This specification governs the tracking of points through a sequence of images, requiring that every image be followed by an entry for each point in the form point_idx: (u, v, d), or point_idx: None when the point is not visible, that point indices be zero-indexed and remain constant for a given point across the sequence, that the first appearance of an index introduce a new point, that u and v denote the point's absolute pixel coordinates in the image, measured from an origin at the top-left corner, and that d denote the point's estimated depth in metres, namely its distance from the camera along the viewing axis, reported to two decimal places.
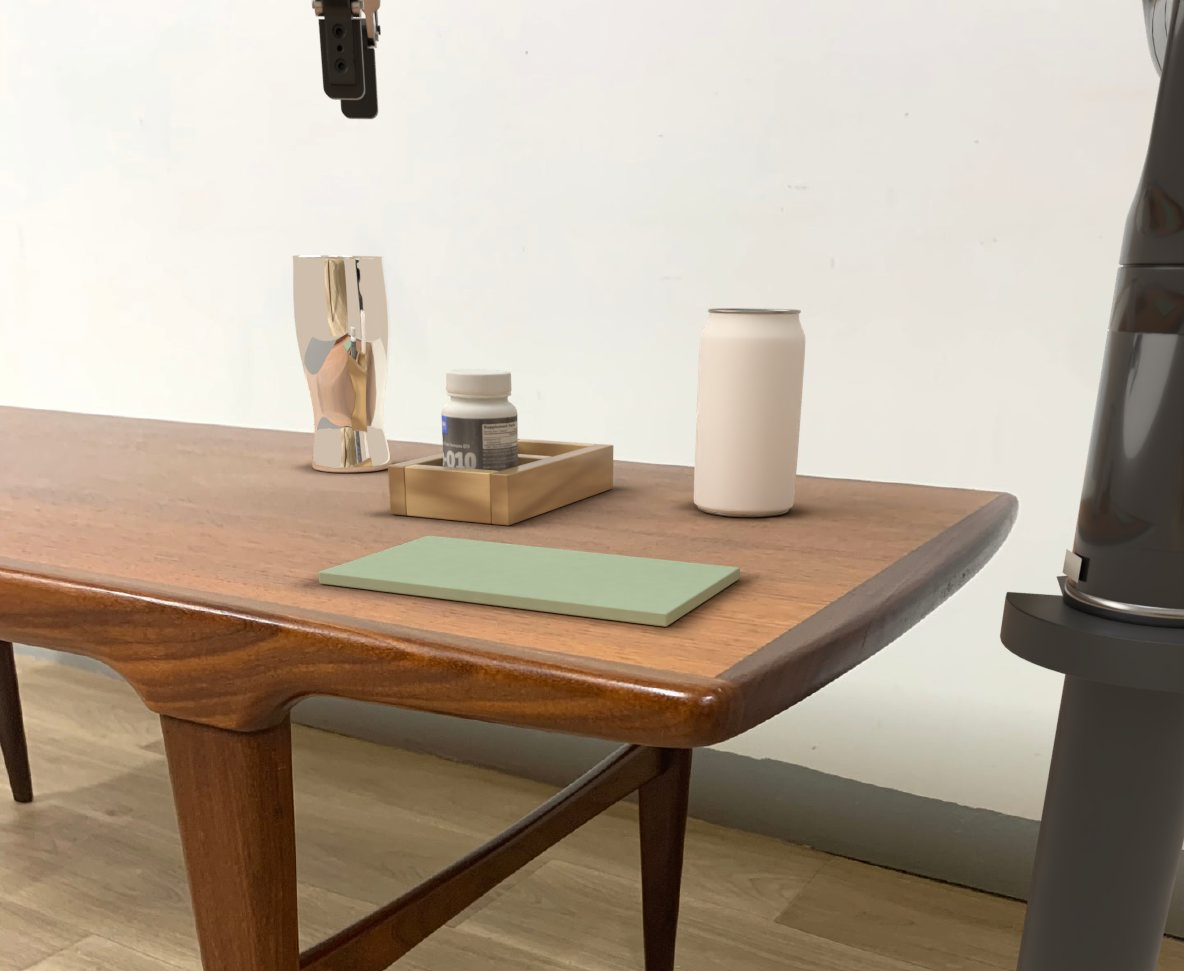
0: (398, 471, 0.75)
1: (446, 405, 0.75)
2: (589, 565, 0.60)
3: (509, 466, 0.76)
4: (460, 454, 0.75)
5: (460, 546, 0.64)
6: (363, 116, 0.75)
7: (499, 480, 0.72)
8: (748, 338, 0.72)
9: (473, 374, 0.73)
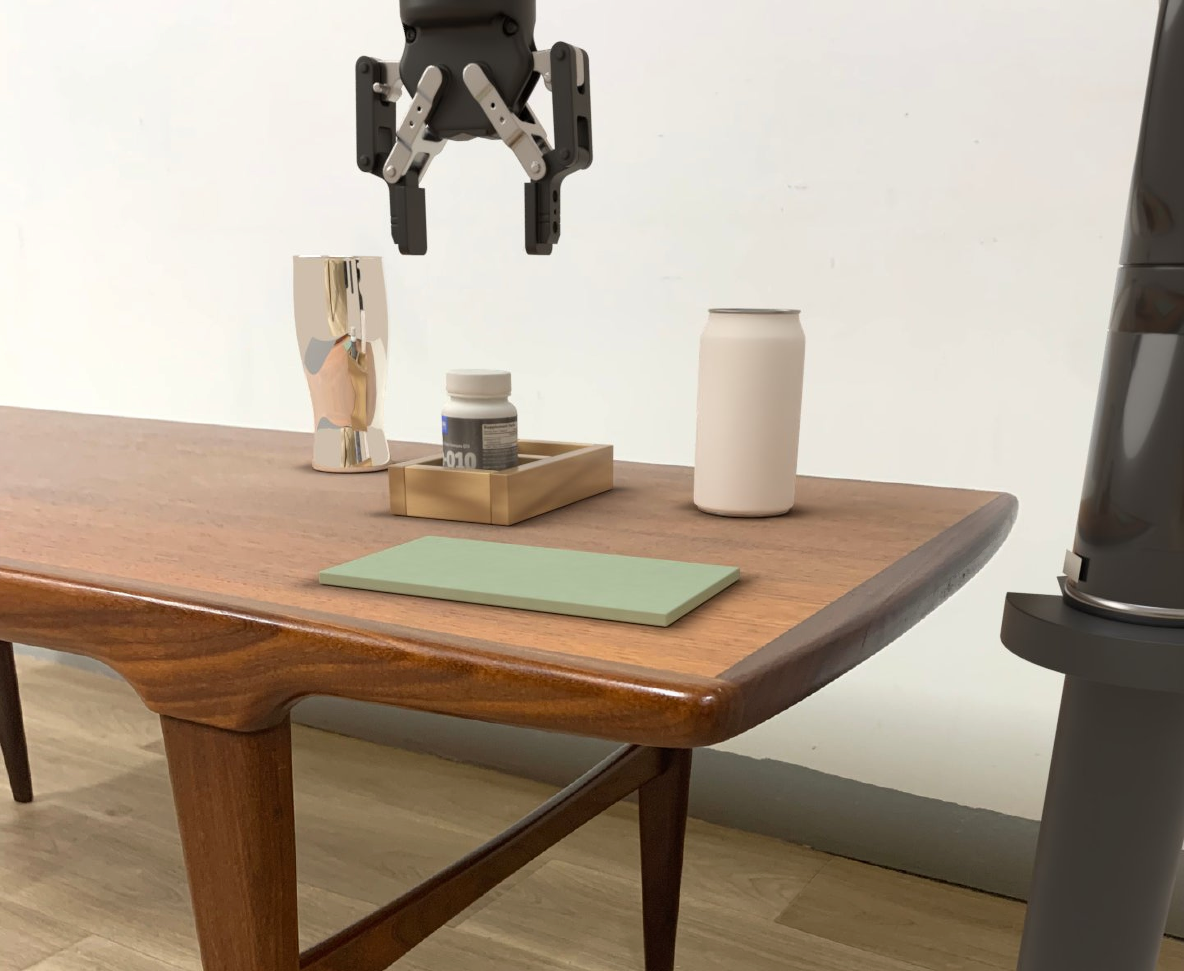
0: (398, 471, 0.75)
1: (446, 405, 0.75)
2: (589, 565, 0.60)
3: (509, 466, 0.76)
4: (460, 454, 0.75)
5: (460, 546, 0.64)
6: (419, 254, 0.74)
7: (499, 480, 0.72)
8: (748, 338, 0.72)
9: (473, 374, 0.73)
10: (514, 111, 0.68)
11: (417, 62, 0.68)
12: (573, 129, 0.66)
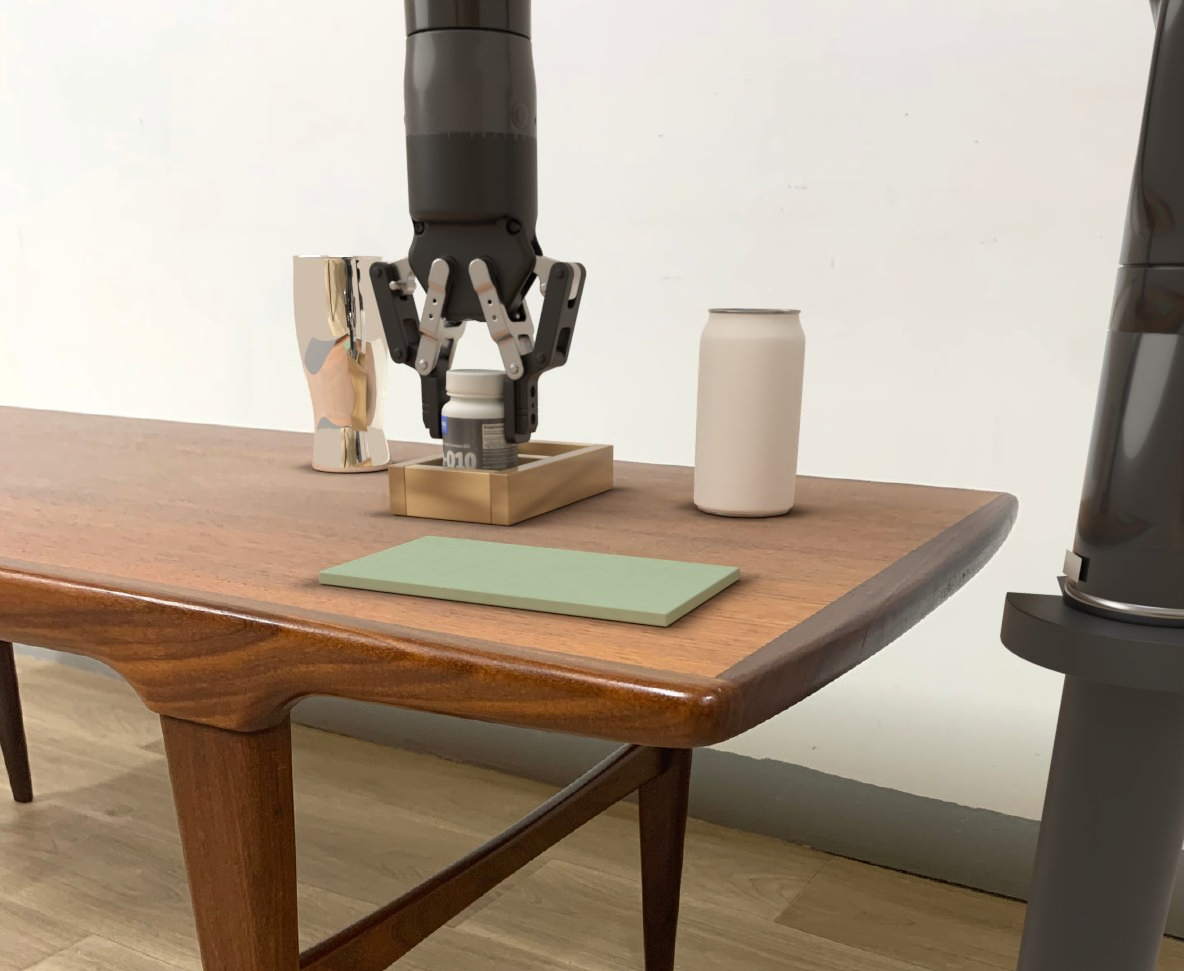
0: (398, 471, 0.75)
1: (446, 405, 0.75)
2: (589, 565, 0.60)
3: (509, 466, 0.76)
4: (460, 454, 0.75)
5: (460, 546, 0.64)
6: None
7: (499, 480, 0.72)
8: (748, 338, 0.72)
9: (473, 374, 0.73)
10: None
11: (424, 251, 0.72)
12: (554, 341, 0.71)
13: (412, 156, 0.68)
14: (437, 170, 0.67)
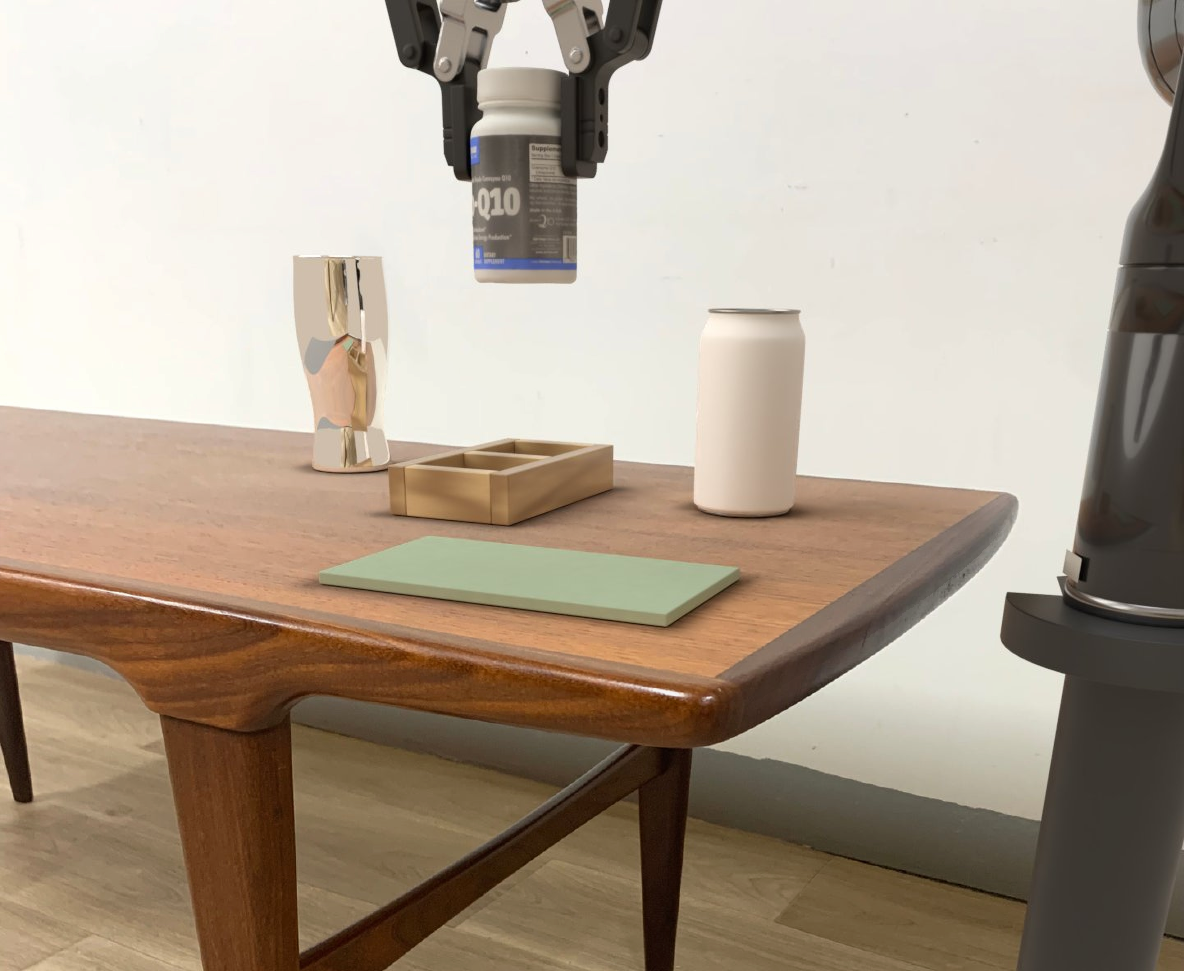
0: (398, 471, 0.75)
1: (477, 122, 0.53)
2: (589, 565, 0.60)
3: (566, 212, 0.53)
4: (497, 191, 0.52)
5: (460, 546, 0.64)
6: None
7: (499, 480, 0.72)
8: (748, 338, 0.72)
9: (517, 68, 0.51)
10: None
11: None
12: (636, 6, 0.49)
13: None
14: None
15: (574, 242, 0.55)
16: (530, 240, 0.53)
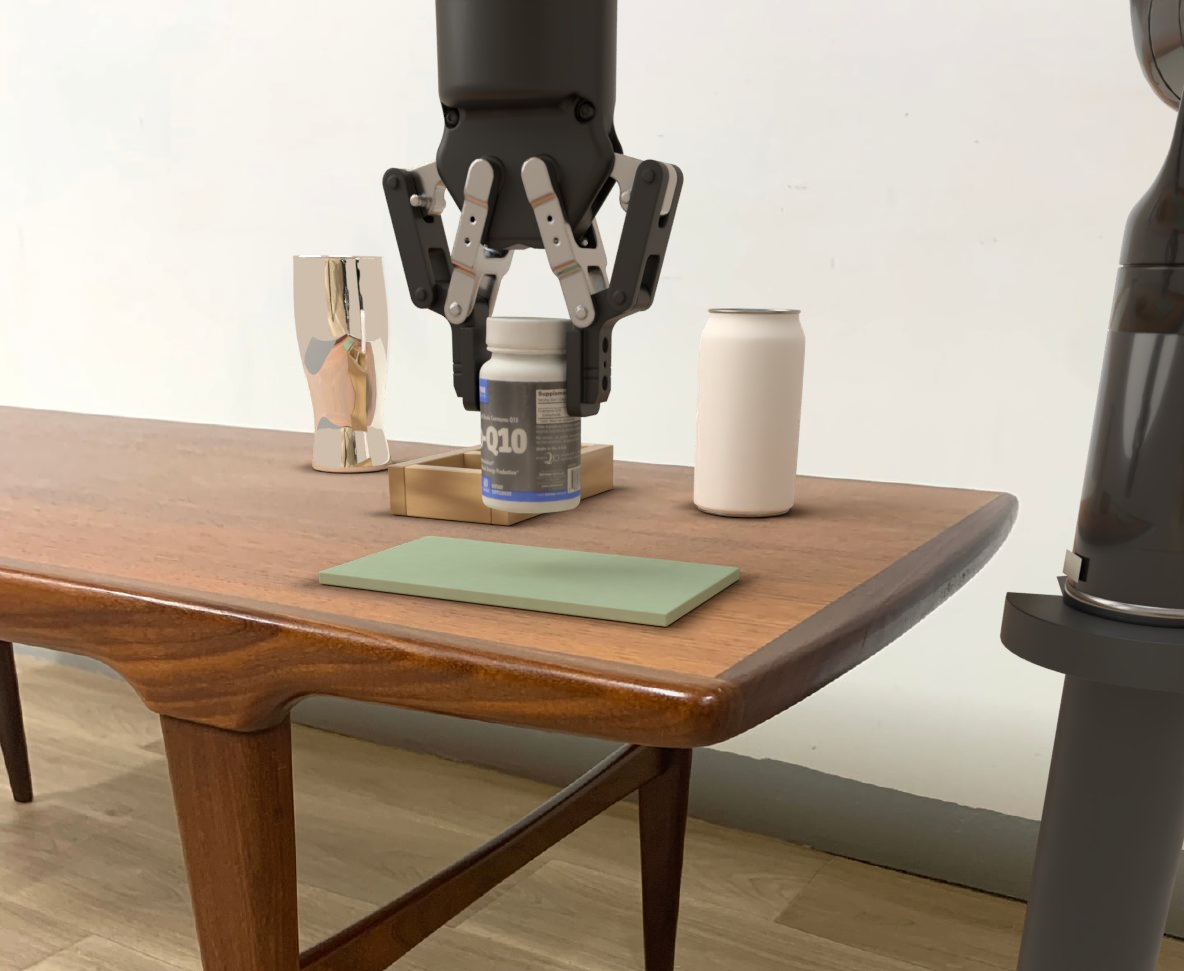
0: (398, 471, 0.75)
1: (486, 364, 0.55)
2: (589, 565, 0.60)
3: (571, 448, 0.56)
4: (505, 431, 0.55)
5: (460, 546, 0.64)
6: None
7: None
8: (748, 338, 0.72)
9: (524, 321, 0.53)
10: None
11: (458, 150, 0.53)
12: (639, 273, 0.51)
13: (444, 9, 0.49)
14: (481, 27, 0.48)
15: (578, 471, 0.57)
16: (536, 475, 0.55)
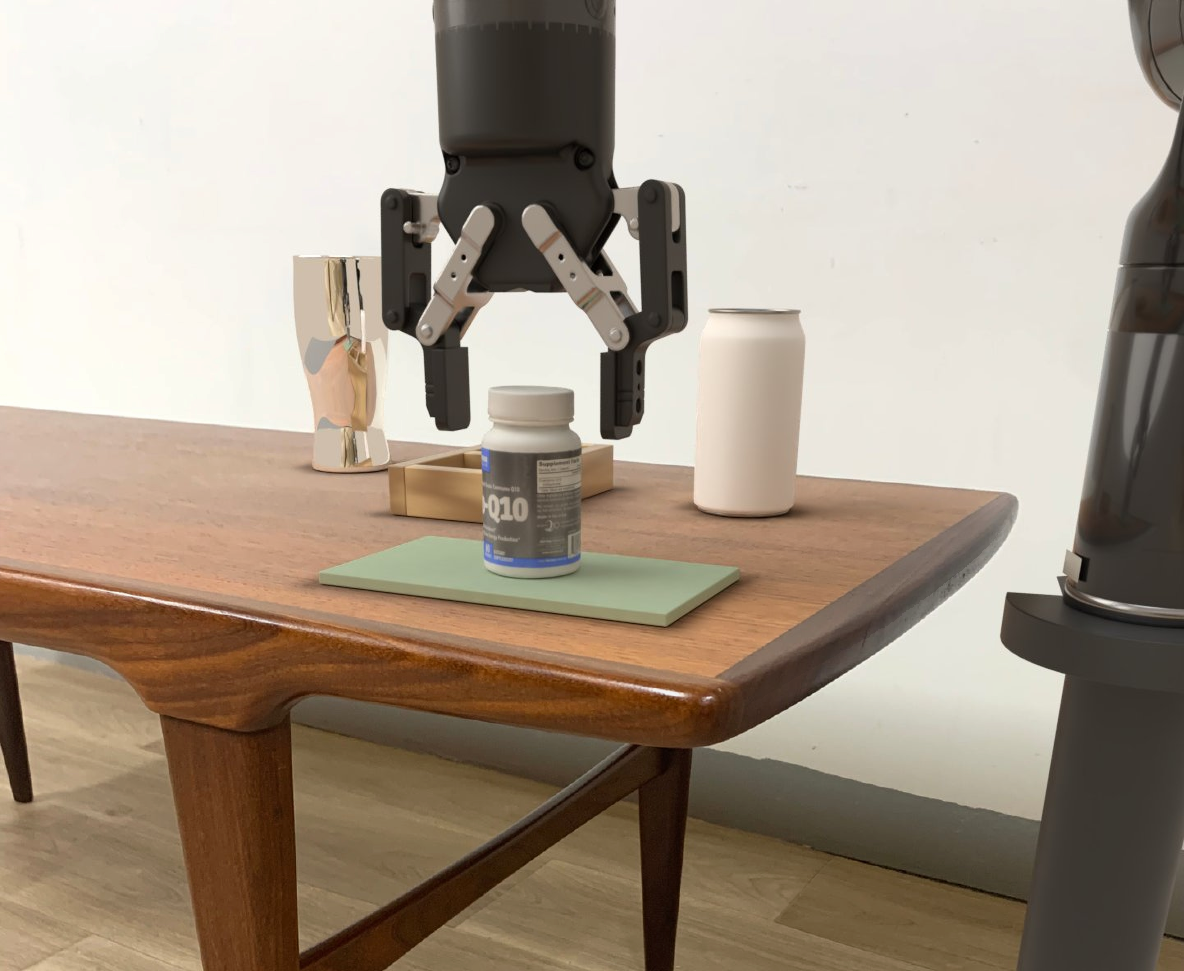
0: (398, 471, 0.75)
1: (488, 434, 0.56)
2: (589, 565, 0.60)
3: (571, 515, 0.57)
4: (506, 499, 0.56)
5: (460, 546, 0.64)
6: (461, 427, 0.58)
7: None
8: (748, 338, 0.72)
9: (525, 394, 0.54)
10: (587, 261, 0.53)
11: (461, 198, 0.53)
12: (667, 290, 0.51)
13: (445, 60, 0.49)
14: (481, 78, 0.48)
15: (578, 536, 0.58)
16: (537, 542, 0.57)
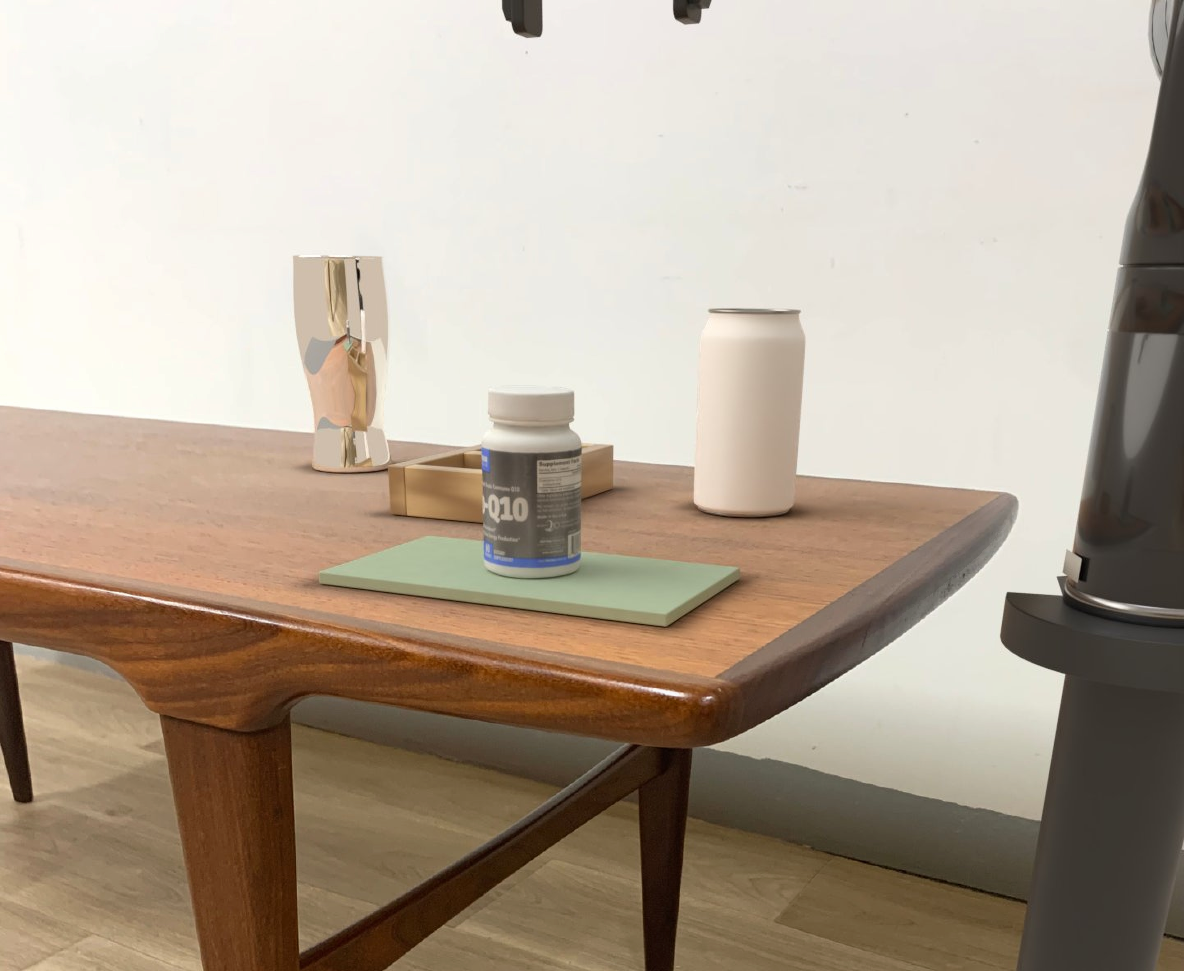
0: (398, 471, 0.75)
1: (488, 434, 0.56)
2: (589, 565, 0.60)
3: (571, 515, 0.57)
4: (506, 499, 0.56)
5: (460, 546, 0.64)
6: (535, 34, 0.62)
7: None
8: (748, 338, 0.72)
9: (526, 394, 0.54)
10: None
11: None
12: None
13: None
14: None
15: (578, 536, 0.58)
16: (537, 542, 0.57)
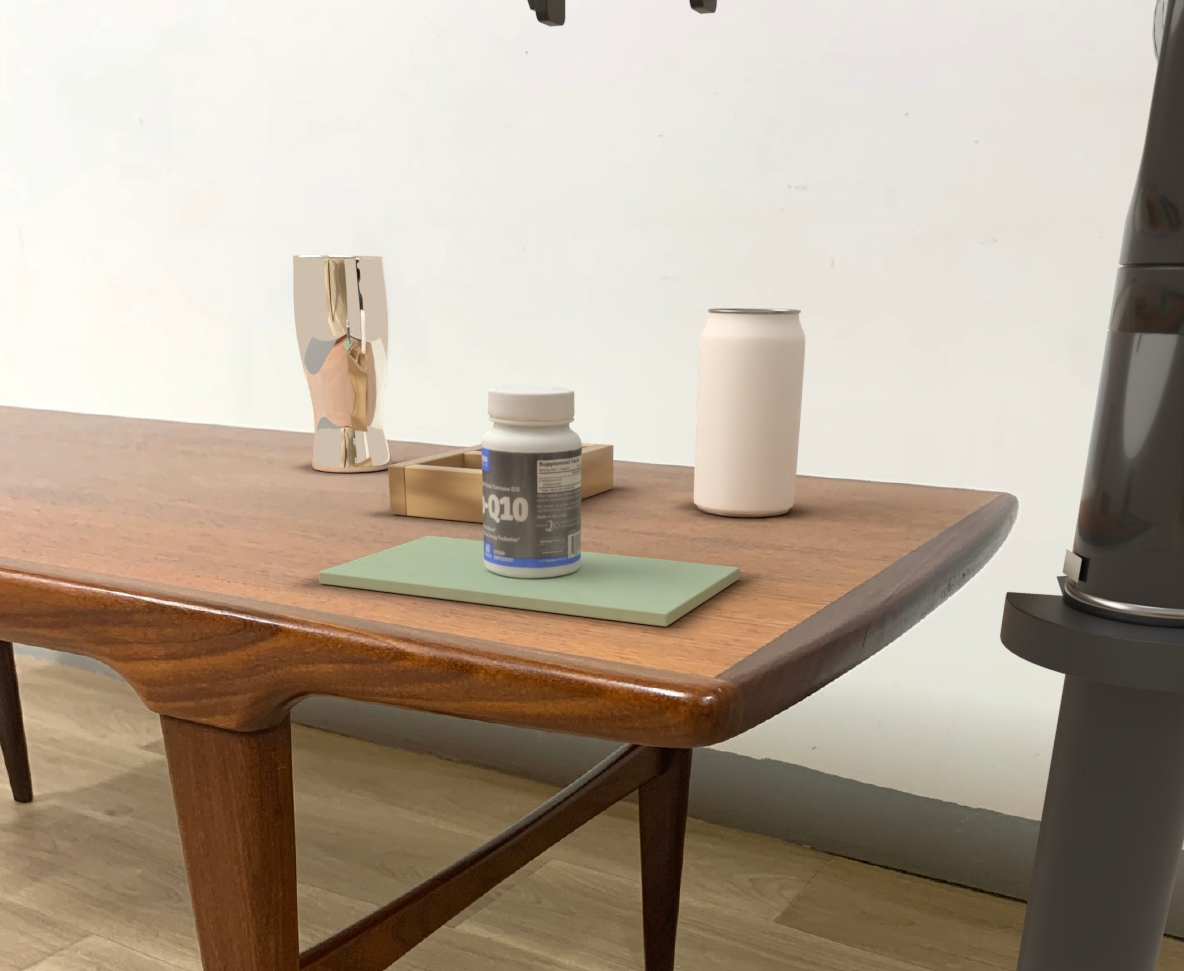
0: (398, 471, 0.75)
1: (488, 434, 0.56)
2: (589, 565, 0.60)
3: (571, 515, 0.57)
4: (506, 499, 0.56)
5: (460, 546, 0.64)
6: (557, 22, 0.64)
7: None
8: (748, 338, 0.72)
9: (526, 394, 0.54)
10: None
11: None
12: None
13: None
14: None
15: (578, 536, 0.58)
16: (537, 542, 0.57)
